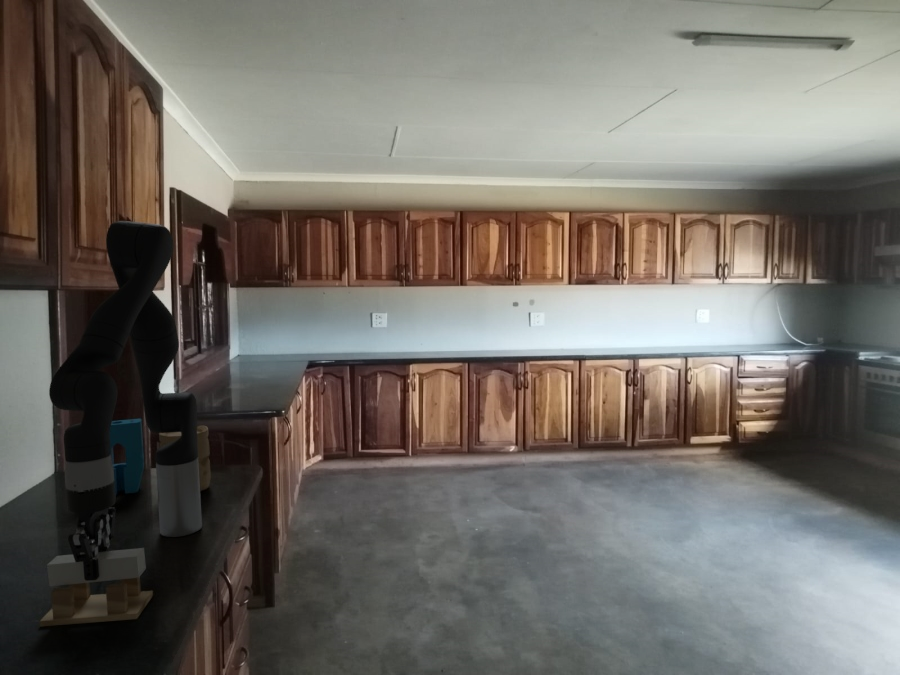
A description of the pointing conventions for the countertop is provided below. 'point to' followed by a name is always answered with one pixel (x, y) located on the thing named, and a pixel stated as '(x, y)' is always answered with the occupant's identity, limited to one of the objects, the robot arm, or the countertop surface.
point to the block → (128, 454)
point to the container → (202, 452)
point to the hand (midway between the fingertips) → (97, 573)
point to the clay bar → (109, 563)
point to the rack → (96, 603)
